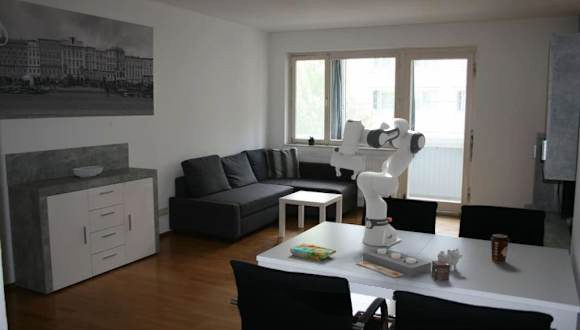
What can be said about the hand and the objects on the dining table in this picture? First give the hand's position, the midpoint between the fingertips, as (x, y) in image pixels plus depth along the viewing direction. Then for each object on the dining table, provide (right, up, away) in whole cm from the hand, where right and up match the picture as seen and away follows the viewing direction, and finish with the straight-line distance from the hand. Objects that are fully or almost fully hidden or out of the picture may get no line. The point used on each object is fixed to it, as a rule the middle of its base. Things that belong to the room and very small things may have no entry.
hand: (345, 177), depth 261 cm
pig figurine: (+46, -42, -21) cm, 66 cm away
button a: (+16, -38, -10) cm, 43 cm away
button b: (+22, -39, -17) cm, 48 cm away
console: (+22, -41, -17) cm, 50 cm away
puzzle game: (-17, -40, -4) cm, 44 cm away
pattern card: (+13, -42, -24) cm, 50 cm away
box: (+38, -44, -35) cm, 68 cm away
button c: (+27, -40, -25) cm, 54 cm away
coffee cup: (+74, -41, -9) cm, 86 cm away
